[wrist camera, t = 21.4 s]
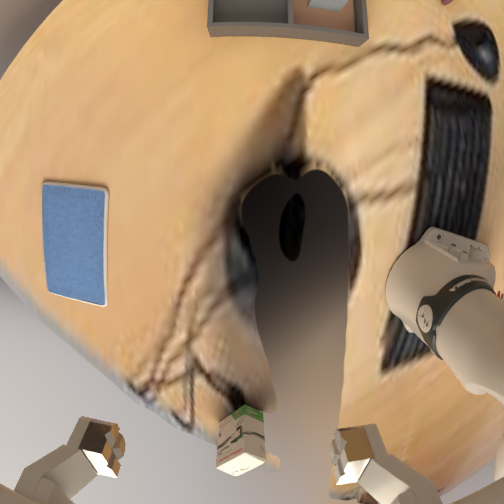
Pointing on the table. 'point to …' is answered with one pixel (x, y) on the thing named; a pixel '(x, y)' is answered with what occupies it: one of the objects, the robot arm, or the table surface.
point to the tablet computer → (75, 241)
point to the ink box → (241, 441)
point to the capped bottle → (327, 4)
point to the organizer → (289, 20)
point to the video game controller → (446, 2)
